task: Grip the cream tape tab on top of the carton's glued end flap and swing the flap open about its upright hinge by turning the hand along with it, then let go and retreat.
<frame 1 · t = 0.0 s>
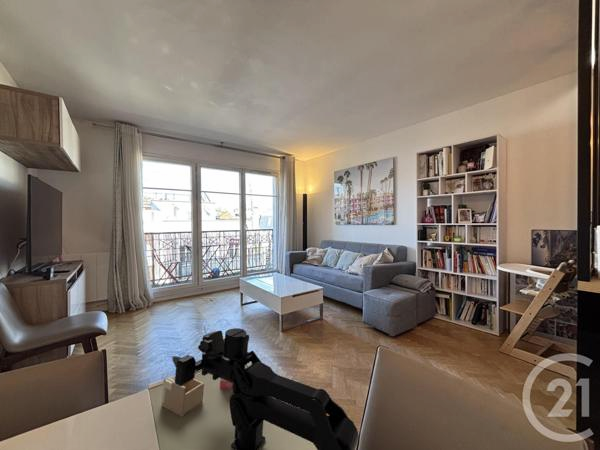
hand: (186, 352, 76), 17 cm above the table, tool horizontal, fingers open, 9 cm apart
carton: (183, 403, 77), on the table
end flap: (173, 396, 74), point 4 cm above the table, hinge at 0.0°
ink box: (228, 382, 90), on the table
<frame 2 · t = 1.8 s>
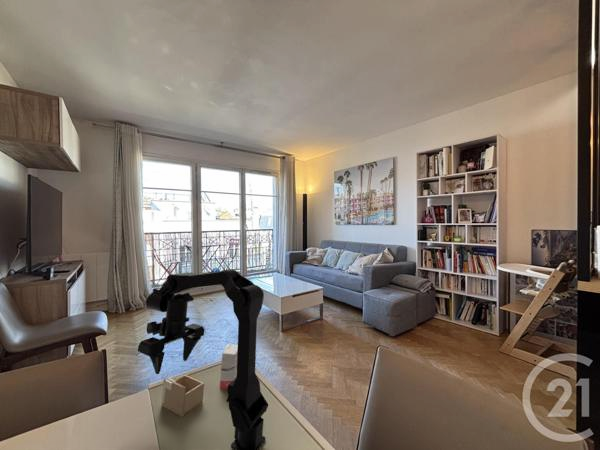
hand: (171, 366, 75), 12 cm above the table, tool pointing down, fingers open, 9 cm apart
nothing on the table moved.
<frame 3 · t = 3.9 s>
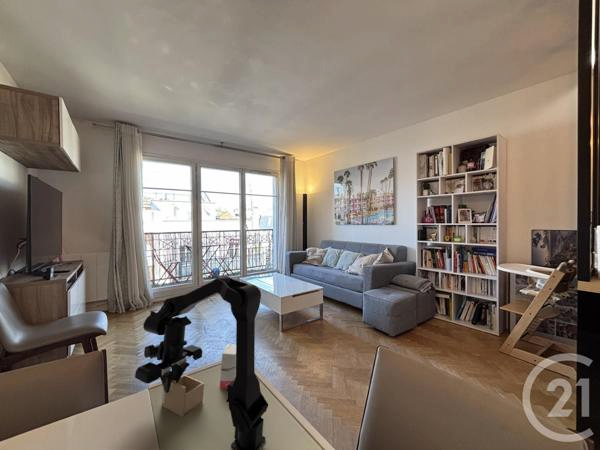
hand: (169, 390, 75), 5 cm above the table, tool pointing down, fingers closed on end flap, 2 cm apart
end flap: (173, 396, 74), point 4 cm above the table, hinge at 0.0°, touching gripper
everything else where it was.
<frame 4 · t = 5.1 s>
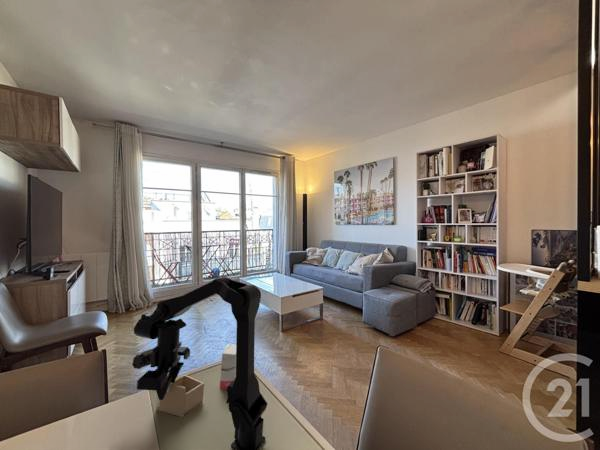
hand: (164, 395, 73), 5 cm above the table, tool pointing down, fingers open, 3 cm apart
end flap: (170, 398, 73), point 4 cm above the table, hinge at 12.0°, touching gripper
everything else where it was.
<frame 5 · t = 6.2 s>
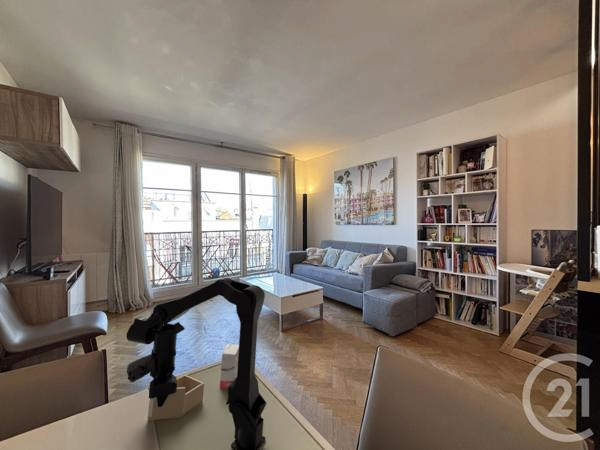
hand: (160, 402, 70), 5 cm above the table, tool pointing down, fingers open, 3 cm apart
end flap: (166, 403, 71), point 4 cm above the table, hinge at 40.7°, touching gripper
everything else where it was.
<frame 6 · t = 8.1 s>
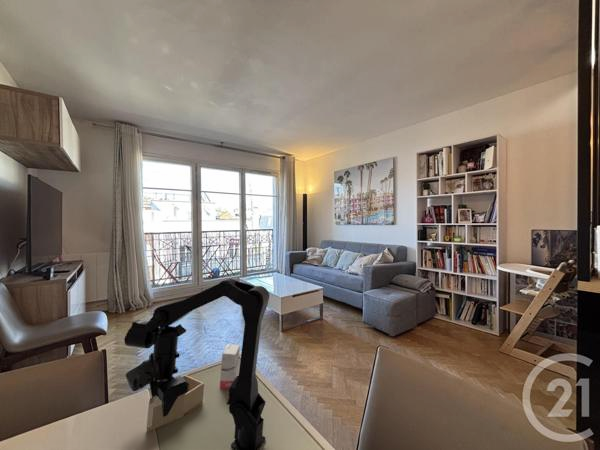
hand: (159, 408, 67), 5 cm above the table, tool pointing down, fingers open, 7 cm apart
end flap: (166, 408, 69), point 4 cm above the table, hinge at 68.8°
everything else where it was.
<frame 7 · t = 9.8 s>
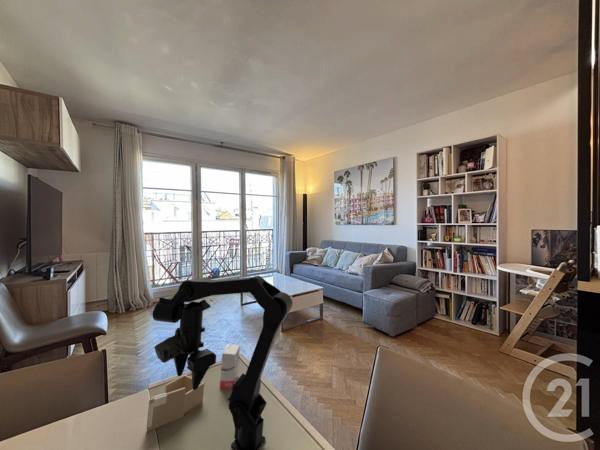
hand: (187, 382, 68), 12 cm above the table, tool pointing down, fingers open, 9 cm apart
nothing on the table moved.
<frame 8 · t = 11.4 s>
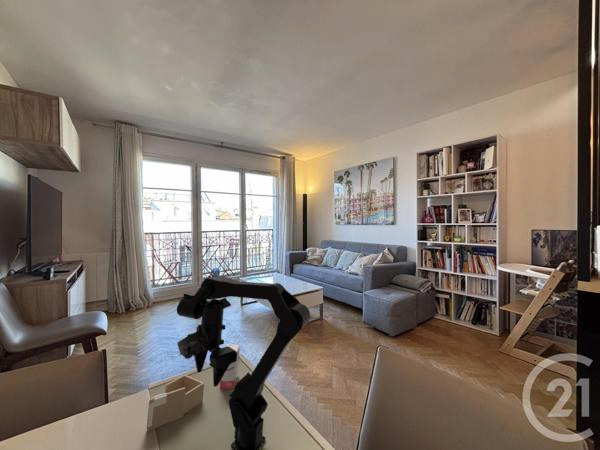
hand: (207, 378, 69), 13 cm above the table, tool pointing down, fingers open, 9 cm apart
nothing on the table moved.
at the end: end flap at +69° (first picture: +0°); the gripper is holding nothing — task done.
